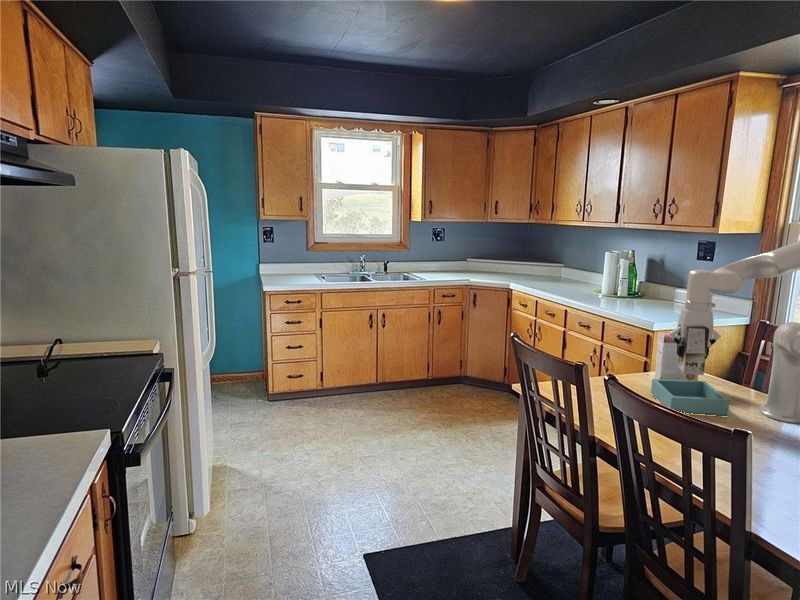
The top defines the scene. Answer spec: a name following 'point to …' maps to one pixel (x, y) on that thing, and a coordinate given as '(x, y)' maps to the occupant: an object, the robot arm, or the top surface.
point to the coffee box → (694, 351)
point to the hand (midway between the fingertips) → (692, 356)
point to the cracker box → (669, 360)
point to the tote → (690, 397)
